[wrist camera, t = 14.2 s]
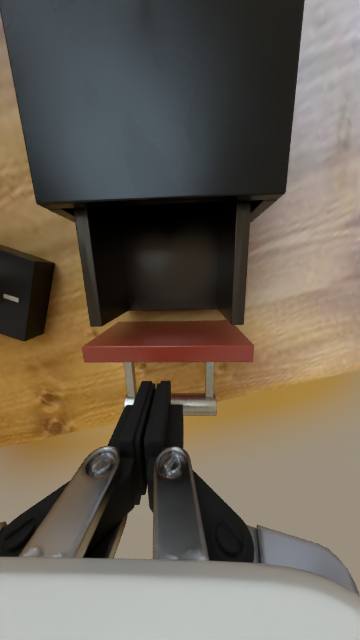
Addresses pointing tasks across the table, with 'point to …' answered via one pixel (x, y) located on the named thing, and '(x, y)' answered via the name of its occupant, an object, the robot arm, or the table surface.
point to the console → (23, 293)
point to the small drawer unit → (155, 99)
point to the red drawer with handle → (167, 286)
